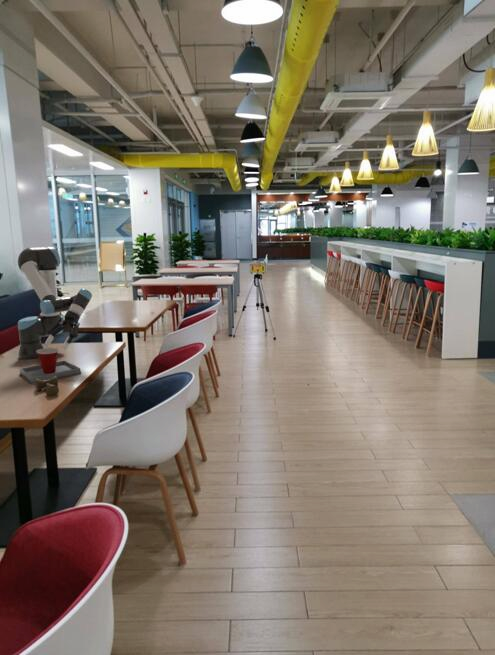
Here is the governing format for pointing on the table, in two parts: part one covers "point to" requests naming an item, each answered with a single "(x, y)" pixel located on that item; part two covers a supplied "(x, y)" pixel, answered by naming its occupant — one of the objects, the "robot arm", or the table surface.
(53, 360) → the plastic cup
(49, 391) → the kendama
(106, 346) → the table surface
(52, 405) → the table surface
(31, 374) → the grey tray
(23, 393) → the table surface
